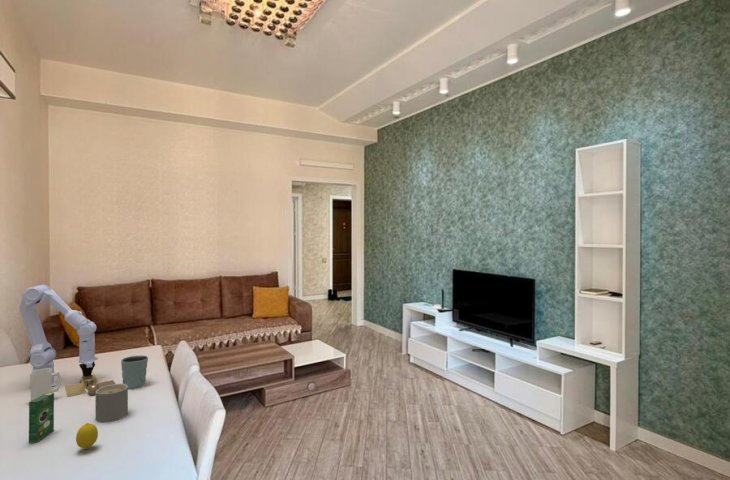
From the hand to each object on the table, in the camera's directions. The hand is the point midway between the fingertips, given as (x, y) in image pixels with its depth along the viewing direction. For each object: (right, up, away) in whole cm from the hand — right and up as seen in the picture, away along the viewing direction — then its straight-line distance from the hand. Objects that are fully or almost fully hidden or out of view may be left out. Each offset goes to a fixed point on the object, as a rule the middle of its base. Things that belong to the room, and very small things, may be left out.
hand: (87, 379), depth 178 cm
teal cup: (+24, -1, -4) cm, 24 cm away
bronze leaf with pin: (+12, -1, -8) cm, 15 cm away
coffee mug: (+32, -2, -32) cm, 45 cm away
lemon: (+40, -2, -56) cm, 69 cm away
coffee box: (+20, -2, -49) cm, 53 cm away
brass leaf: (+4, -1, -9) cm, 10 cm away
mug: (-2, -1, -20) cm, 20 cm away
